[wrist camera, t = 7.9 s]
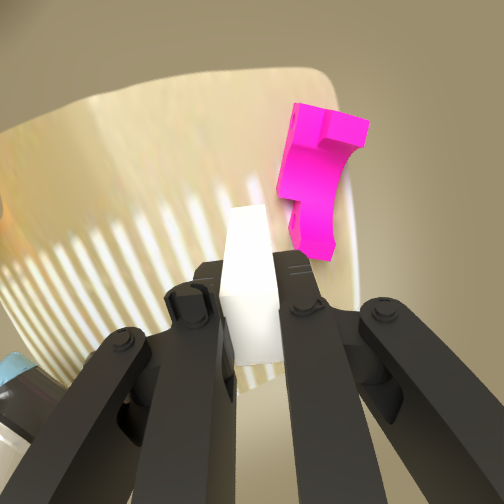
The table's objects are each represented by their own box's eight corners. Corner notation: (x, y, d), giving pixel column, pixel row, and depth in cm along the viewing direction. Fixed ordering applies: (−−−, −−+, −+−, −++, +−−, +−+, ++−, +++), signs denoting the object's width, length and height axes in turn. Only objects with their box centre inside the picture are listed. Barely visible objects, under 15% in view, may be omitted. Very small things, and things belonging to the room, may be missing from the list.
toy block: (293, 102, 31) (306, 103, 25) (346, 116, 32) (370, 121, 25) (268, 223, 38) (272, 252, 31) (316, 232, 39) (330, 261, 32)
